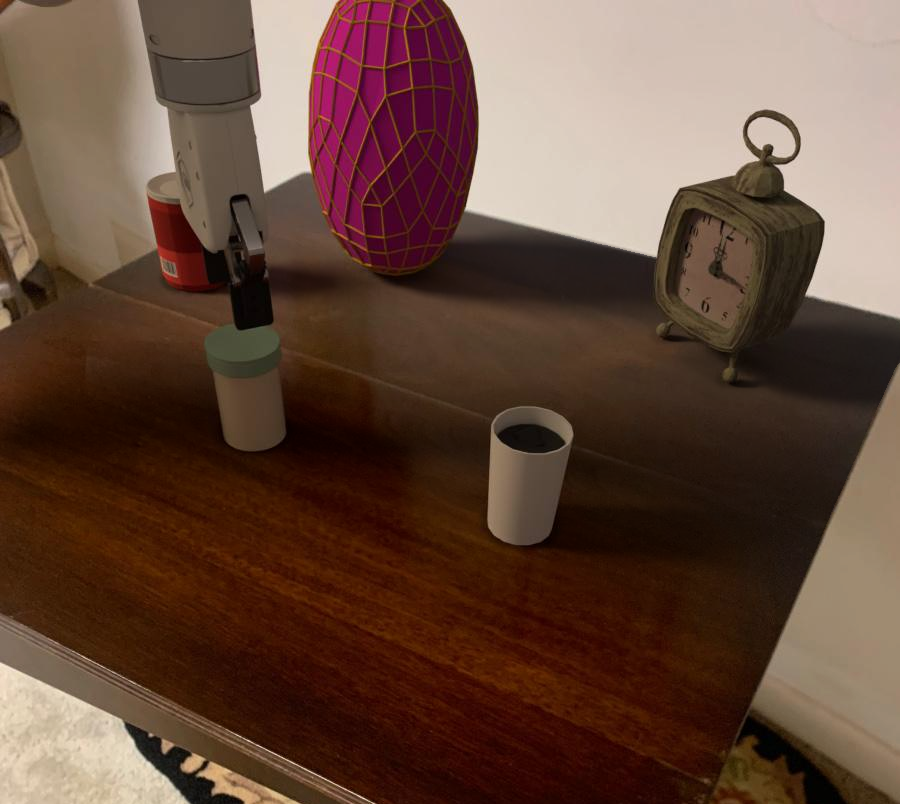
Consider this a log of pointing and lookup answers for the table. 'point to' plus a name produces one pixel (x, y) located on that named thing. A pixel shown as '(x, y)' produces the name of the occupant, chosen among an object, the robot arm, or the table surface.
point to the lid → (242, 351)
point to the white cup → (526, 472)
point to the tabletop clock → (737, 254)
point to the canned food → (176, 237)
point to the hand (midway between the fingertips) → (239, 301)
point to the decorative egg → (392, 130)
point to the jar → (251, 410)
